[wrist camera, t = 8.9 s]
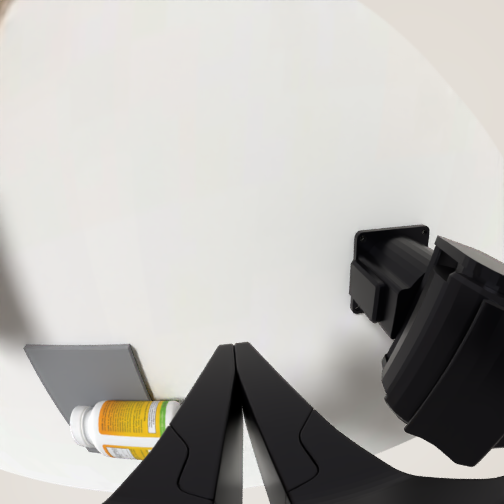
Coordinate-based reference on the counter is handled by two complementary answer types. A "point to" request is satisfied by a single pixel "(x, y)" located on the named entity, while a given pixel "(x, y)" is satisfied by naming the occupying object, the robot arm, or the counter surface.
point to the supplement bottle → (122, 426)
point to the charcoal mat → (87, 375)
